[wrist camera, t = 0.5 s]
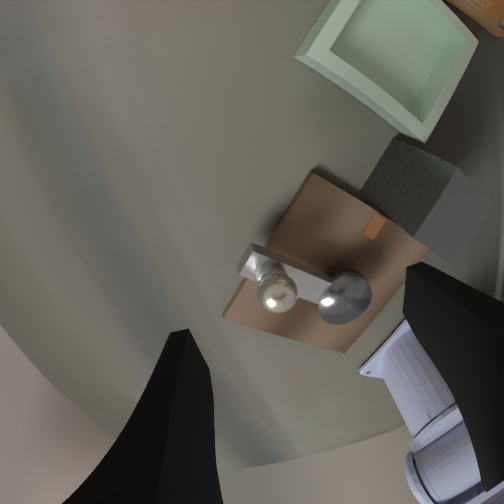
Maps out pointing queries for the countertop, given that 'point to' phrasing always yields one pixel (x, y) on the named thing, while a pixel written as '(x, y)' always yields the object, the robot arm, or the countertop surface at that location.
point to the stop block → (427, 199)
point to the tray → (392, 57)
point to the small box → (484, 13)
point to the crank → (305, 285)
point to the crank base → (330, 262)
